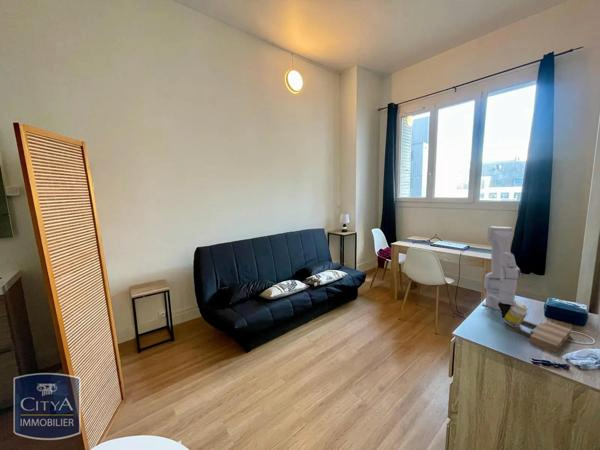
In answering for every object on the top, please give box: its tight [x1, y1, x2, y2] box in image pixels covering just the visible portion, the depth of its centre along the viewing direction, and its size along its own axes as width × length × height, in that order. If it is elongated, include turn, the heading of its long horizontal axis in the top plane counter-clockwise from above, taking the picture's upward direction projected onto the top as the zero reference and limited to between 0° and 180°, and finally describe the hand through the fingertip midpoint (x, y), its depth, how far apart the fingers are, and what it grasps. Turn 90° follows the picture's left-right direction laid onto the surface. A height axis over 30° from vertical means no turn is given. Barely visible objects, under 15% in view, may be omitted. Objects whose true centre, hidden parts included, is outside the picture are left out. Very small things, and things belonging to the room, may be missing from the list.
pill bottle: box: [503, 300, 529, 328], centre depth 116 cm, size 6×6×11 cm
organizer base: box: [505, 320, 572, 353], centre depth 110 cm, size 20×18×3 cm
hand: (504, 317), depth 120 cm, fingers closed, pressing on pill bottle
